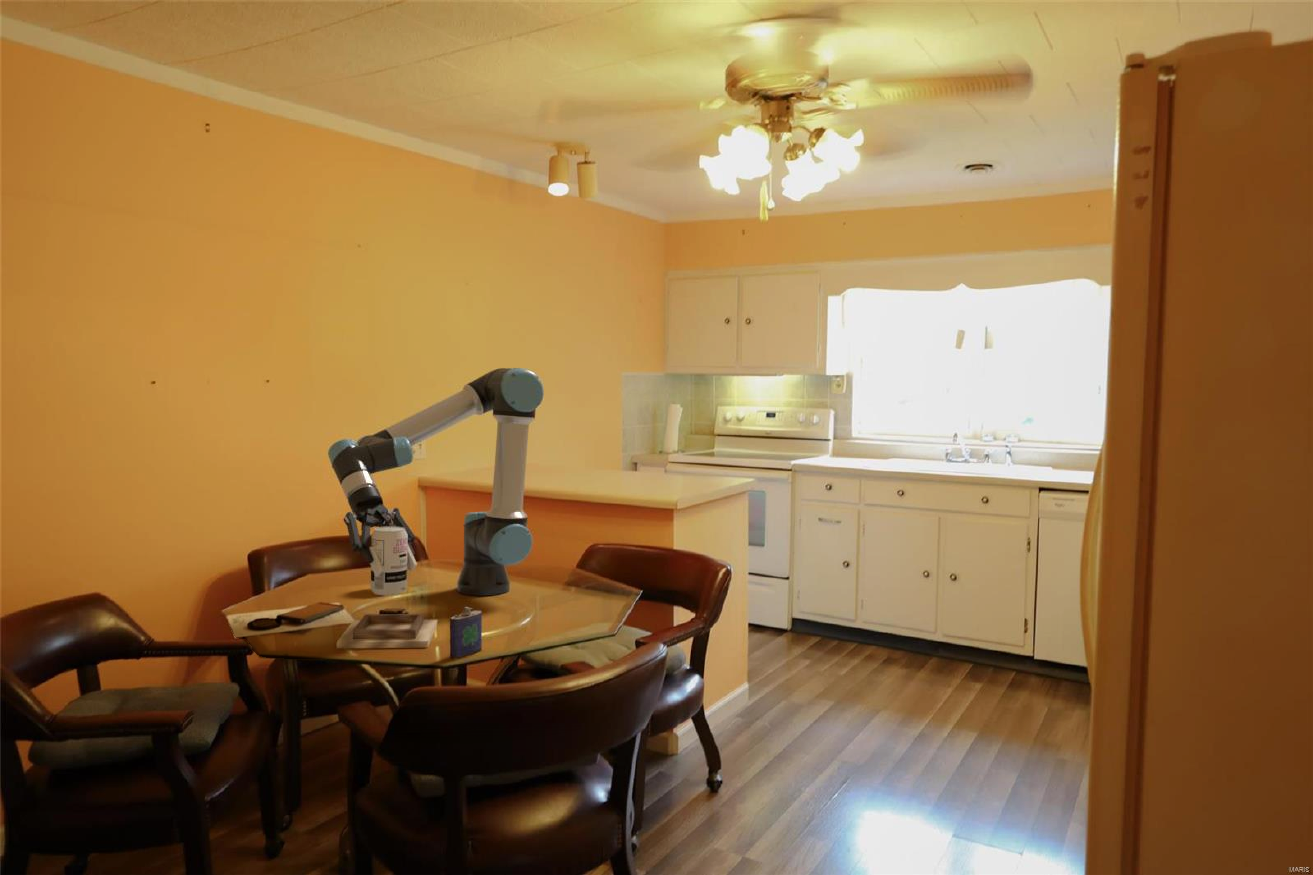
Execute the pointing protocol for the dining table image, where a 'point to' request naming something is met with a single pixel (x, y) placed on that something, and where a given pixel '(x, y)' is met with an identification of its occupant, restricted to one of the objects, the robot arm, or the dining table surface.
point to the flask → (465, 634)
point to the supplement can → (390, 560)
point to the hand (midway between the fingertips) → (396, 570)
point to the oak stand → (388, 632)
